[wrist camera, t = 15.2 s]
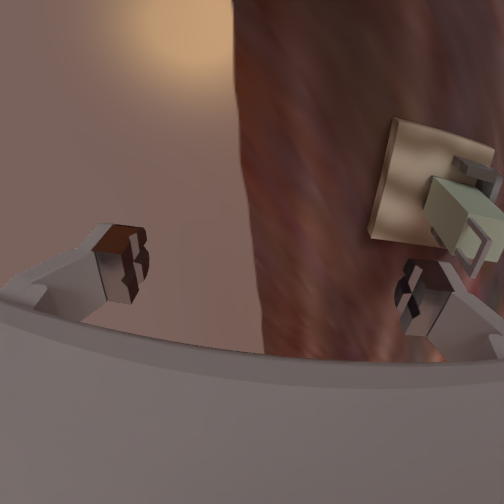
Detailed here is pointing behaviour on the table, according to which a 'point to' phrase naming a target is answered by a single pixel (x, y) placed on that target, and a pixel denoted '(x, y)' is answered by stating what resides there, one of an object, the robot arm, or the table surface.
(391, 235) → the dock
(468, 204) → the pale green handled box
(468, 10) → the table surface
